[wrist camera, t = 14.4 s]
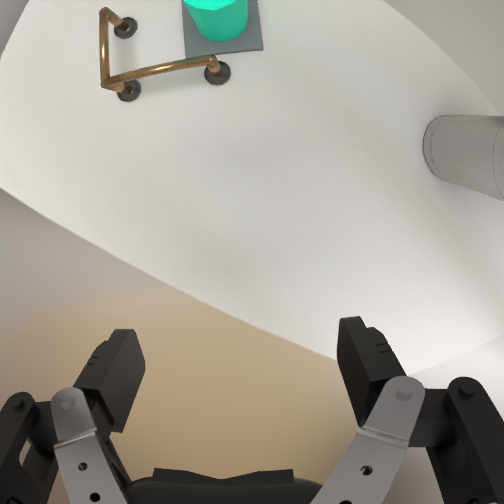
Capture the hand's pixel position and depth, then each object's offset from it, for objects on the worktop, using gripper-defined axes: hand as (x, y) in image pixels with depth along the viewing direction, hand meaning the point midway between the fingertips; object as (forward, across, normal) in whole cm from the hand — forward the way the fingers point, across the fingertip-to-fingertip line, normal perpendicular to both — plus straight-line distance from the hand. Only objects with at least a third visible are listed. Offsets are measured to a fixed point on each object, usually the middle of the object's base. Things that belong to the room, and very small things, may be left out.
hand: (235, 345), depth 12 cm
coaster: (+28, +1, -23) cm, 36 cm away
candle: (+27, +1, -22) cm, 35 cm away
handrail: (+28, +8, -20) cm, 35 cm away
